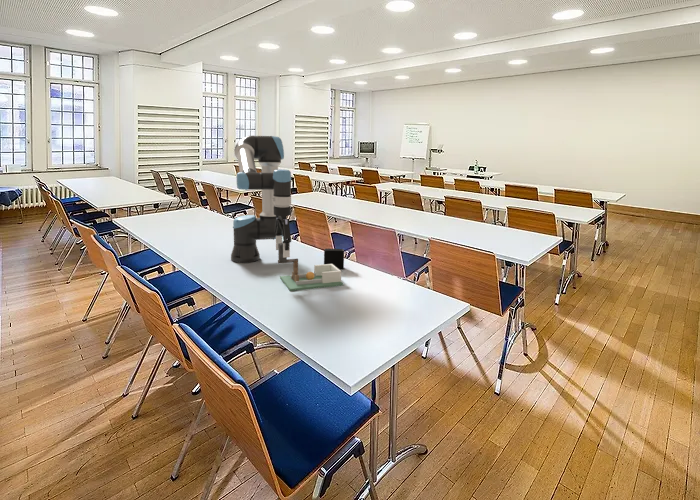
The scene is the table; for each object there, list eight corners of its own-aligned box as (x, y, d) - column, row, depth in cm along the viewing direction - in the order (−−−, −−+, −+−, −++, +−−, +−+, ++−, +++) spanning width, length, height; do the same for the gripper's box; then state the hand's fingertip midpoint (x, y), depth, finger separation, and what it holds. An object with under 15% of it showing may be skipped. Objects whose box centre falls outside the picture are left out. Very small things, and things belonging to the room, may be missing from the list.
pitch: (280, 278, 208) (280, 266, 206) (329, 273, 217) (330, 262, 216) (289, 291, 192) (289, 277, 190) (343, 285, 201) (343, 273, 200)
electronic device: (323, 267, 228) (324, 248, 225) (343, 267, 229) (343, 248, 226) (324, 269, 224) (324, 250, 221) (343, 269, 225) (344, 250, 222)
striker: (276, 279, 201) (276, 242, 197) (295, 278, 205) (295, 241, 200) (279, 284, 196) (279, 246, 191) (299, 282, 199) (299, 244, 195)
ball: (304, 279, 205) (304, 270, 204) (312, 278, 207) (313, 270, 206) (307, 281, 202) (307, 273, 201) (315, 280, 203) (315, 272, 202)
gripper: (267, 202, 200) (268, 247, 205) (280, 210, 178) (281, 261, 183) (283, 201, 203) (283, 246, 208) (298, 210, 181) (298, 259, 186)
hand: (282, 253), depth 196 cm, fingers open, 13 cm apart
